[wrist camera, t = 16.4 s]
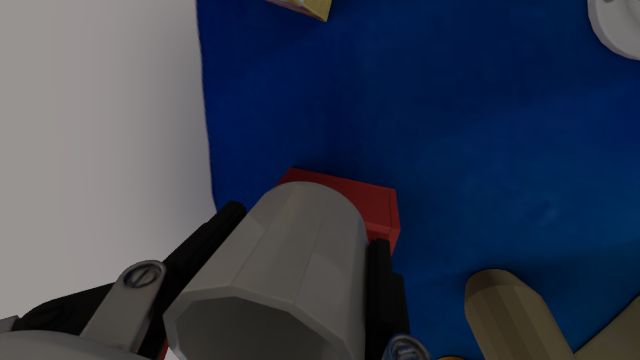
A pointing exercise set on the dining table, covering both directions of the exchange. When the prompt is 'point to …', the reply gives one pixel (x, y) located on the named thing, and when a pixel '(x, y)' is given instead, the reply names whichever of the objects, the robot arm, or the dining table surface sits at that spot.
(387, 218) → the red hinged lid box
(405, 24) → the dining table surface
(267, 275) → the container
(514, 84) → the dining table surface
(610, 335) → the cheese
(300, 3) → the candy box
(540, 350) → the squeeze bottle
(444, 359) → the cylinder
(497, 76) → the dining table surface
